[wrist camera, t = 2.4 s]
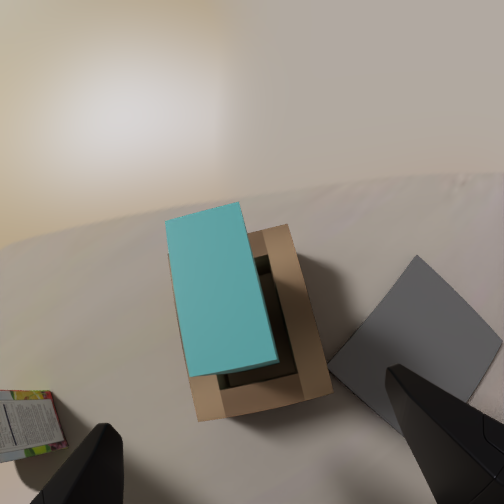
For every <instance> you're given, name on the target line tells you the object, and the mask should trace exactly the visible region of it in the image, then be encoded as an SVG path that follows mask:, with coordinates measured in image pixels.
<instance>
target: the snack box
mask: <svg viewBox="0 0 504 504" xmlns="http://www.w3.org/2000/svg"><path fill="white" fill-rule="evenodd" d="M66 448H68V444H67V442H66V439H65V436H64V434H63V431H62V428H61V425H60V422H59V419H58V416H57V413H56V409H55V406H54V403H53V399H52V396H51V392H50V391H49V390H42V391H22V390H0V463H2V462H8V461H13V460H18V459H23V458H27V457H31V456H35V455H40V454H44V453H48V452H52V451H56V450H61V449H66Z"/></svg>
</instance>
